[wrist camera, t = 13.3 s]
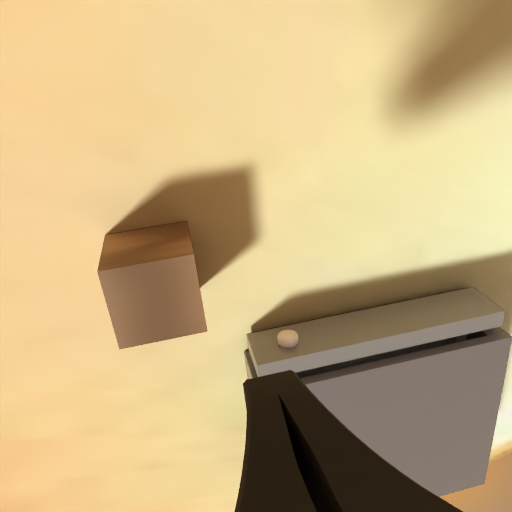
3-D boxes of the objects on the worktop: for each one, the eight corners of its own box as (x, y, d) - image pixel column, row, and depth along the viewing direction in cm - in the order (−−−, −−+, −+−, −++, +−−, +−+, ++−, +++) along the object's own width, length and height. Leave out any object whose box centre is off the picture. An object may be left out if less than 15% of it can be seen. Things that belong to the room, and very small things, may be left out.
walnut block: (186, 221, 20) (194, 254, 17) (198, 289, 22) (207, 331, 19) (105, 234, 20) (97, 271, 17) (123, 303, 21) (119, 349, 18)
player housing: (470, 303, 26) (512, 337, 23) (452, 441, 31) (484, 483, 28) (244, 351, 24) (257, 395, 21) (262, 490, 29) (276, 542, 26)
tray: (474, 281, 25) (506, 304, 22) (454, 430, 30) (478, 461, 27) (245, 328, 23) (256, 359, 21) (265, 479, 28) (275, 517, 26)
